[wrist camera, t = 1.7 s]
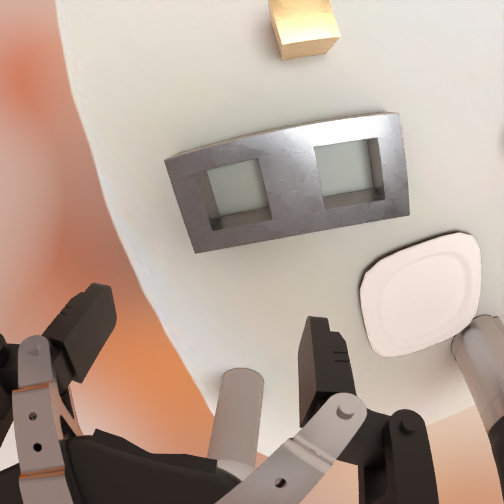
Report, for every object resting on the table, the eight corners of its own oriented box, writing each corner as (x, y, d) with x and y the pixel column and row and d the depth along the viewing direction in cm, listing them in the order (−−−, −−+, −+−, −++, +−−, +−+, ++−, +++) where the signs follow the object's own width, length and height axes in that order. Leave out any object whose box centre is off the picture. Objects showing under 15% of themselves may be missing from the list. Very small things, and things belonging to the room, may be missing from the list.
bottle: (215, 373, 45) (176, 540, 20) (252, 363, 43) (227, 547, 19) (235, 395, 48) (209, 549, 23) (270, 387, 46) (256, 553, 21)
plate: (371, 358, 42) (373, 366, 40) (348, 260, 35) (350, 268, 33) (473, 320, 37) (477, 327, 36) (475, 217, 30) (481, 222, 29)
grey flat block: (385, 111, 26) (398, 113, 23) (396, 202, 30) (409, 215, 27) (177, 153, 30) (164, 160, 27) (204, 237, 35) (195, 253, 31)
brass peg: (314, 15, 22) (324, -12, 15) (325, 53, 24) (340, 36, 17) (271, 22, 23) (267, -4, 16) (282, 60, 25) (282, 44, 18)
